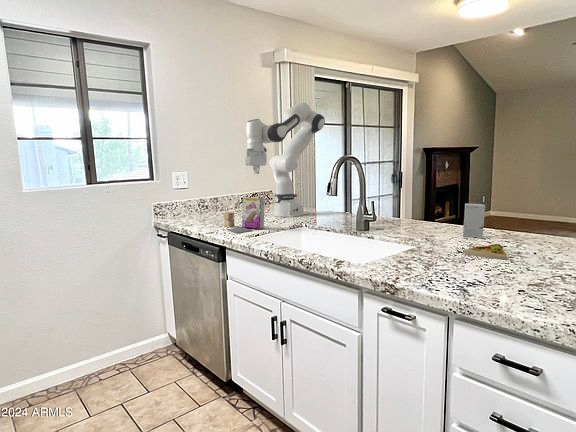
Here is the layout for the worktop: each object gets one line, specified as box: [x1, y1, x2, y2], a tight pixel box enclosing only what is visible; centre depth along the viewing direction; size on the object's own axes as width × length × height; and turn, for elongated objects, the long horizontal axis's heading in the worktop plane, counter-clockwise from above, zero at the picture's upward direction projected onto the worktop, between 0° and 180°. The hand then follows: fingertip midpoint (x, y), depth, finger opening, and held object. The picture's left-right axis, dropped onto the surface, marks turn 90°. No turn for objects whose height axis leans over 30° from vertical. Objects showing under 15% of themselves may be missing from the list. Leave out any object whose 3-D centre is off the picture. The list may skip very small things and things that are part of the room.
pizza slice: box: [462, 243, 509, 261], centre depth 148 cm, size 16×21×3 cm
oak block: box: [223, 211, 235, 229], centre depth 215 cm, size 4×4×8 cm
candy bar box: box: [241, 196, 266, 230], centre depth 208 cm, size 11×5×16 cm, turn 65°
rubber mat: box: [225, 226, 254, 234], centre depth 203 cm, size 10×12×1 cm
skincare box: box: [462, 203, 486, 239], centre depth 174 cm, size 8×6×15 cm
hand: (256, 173), depth 216 cm, fingers closed
